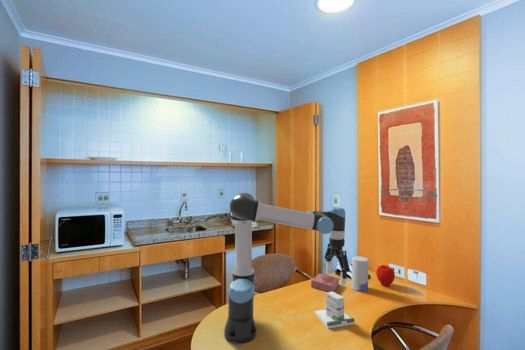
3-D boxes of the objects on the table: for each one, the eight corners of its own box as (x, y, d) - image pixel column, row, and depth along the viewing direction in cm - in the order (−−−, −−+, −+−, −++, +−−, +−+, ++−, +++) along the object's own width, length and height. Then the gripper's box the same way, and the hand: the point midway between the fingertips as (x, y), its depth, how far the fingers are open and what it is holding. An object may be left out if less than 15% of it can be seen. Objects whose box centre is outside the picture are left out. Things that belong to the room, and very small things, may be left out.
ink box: (344, 320, 134) (345, 297, 134) (337, 323, 132) (338, 299, 132) (331, 312, 142) (332, 290, 141) (325, 314, 139) (325, 292, 139)
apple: (372, 281, 184) (372, 262, 184) (387, 281, 186) (388, 262, 185) (381, 289, 173) (382, 269, 172) (398, 289, 174) (399, 268, 173)
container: (354, 283, 180) (355, 254, 180) (369, 287, 175) (370, 258, 174) (349, 289, 172) (350, 258, 172) (365, 293, 167) (366, 262, 166)
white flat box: (328, 328, 129) (328, 323, 129) (314, 313, 142) (314, 308, 142) (354, 324, 133) (354, 319, 133) (338, 309, 147) (339, 304, 146)
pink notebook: (310, 288, 174) (310, 280, 173) (319, 280, 186) (319, 273, 186) (332, 294, 166) (332, 286, 165) (339, 285, 178) (340, 278, 178)
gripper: (358, 244, 125) (356, 288, 125) (330, 231, 149) (329, 269, 149) (344, 245, 123) (343, 290, 123) (318, 232, 147) (317, 270, 147)
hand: (335, 278), depth 136 cm, fingers open, 13 cm apart
